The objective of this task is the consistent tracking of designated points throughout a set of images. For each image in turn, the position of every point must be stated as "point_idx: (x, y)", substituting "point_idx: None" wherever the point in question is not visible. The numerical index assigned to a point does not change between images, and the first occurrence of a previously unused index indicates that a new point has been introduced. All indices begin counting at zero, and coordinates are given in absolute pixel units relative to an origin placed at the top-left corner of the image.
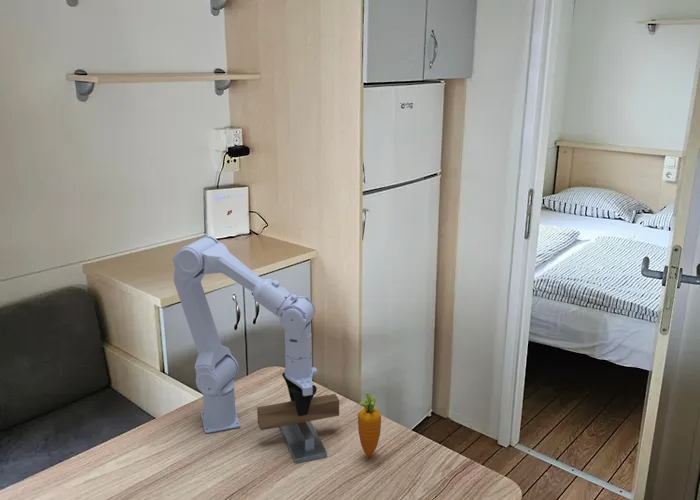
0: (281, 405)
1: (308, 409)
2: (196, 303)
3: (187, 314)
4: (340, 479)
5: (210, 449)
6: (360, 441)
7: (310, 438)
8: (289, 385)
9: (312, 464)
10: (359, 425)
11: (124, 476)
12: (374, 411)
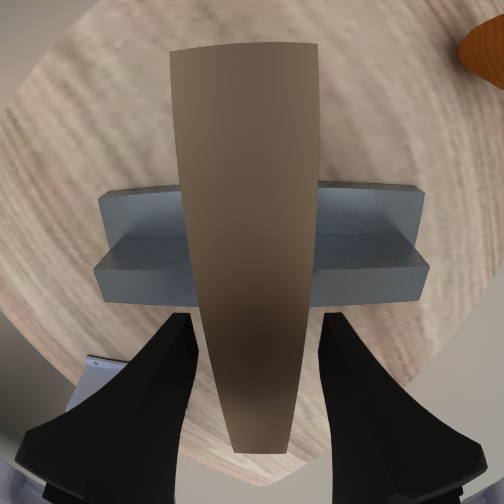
0: (247, 415)
1: (357, 335)
2: None
3: None
4: (500, 191)
5: None
6: (490, 79)
7: (424, 280)
8: (171, 463)
9: (423, 242)
10: None
11: (275, 461)
12: None
